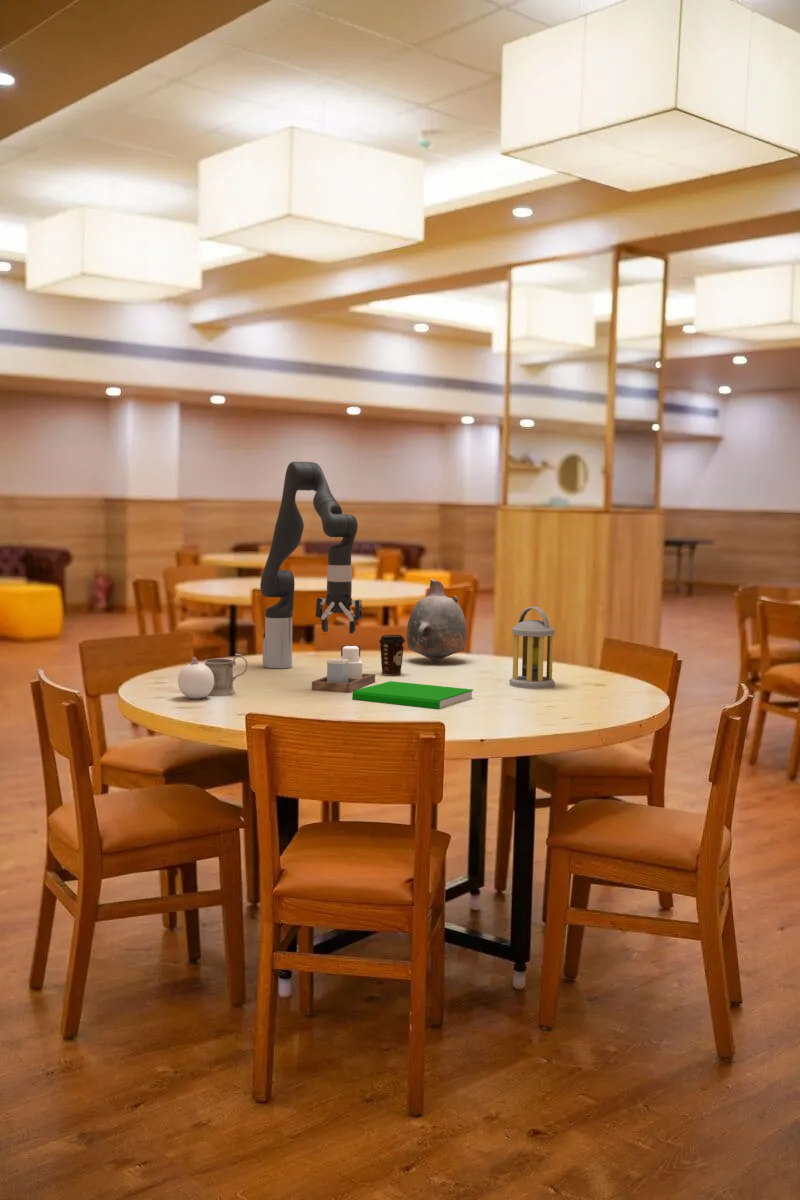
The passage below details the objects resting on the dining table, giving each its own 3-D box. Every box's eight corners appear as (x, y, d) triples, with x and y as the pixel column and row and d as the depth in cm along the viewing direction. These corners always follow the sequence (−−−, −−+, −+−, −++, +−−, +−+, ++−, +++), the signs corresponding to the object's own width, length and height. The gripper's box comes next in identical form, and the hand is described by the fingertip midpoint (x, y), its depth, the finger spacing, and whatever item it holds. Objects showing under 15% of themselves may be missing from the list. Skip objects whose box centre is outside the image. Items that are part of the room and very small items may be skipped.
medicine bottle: (338, 681, 380) (339, 644, 379) (361, 681, 381) (361, 644, 379) (339, 685, 373) (339, 647, 372) (362, 685, 373) (362, 647, 372)
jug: (467, 667, 416) (469, 581, 413) (406, 666, 416) (407, 580, 414) (464, 657, 440) (466, 576, 438) (406, 656, 441) (407, 575, 438)
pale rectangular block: (326, 689, 365) (326, 660, 364) (332, 686, 370) (332, 658, 369) (342, 690, 363) (343, 661, 362) (348, 687, 368) (349, 659, 368)
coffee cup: (405, 672, 400) (406, 634, 399) (403, 676, 392) (404, 637, 391) (380, 672, 401) (380, 633, 400) (377, 675, 393) (377, 636, 392)
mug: (195, 694, 352) (196, 653, 351) (213, 689, 361) (213, 649, 360) (238, 697, 347) (239, 657, 346) (255, 693, 356) (255, 653, 355)
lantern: (500, 684, 379) (502, 606, 376) (527, 680, 389) (529, 603, 387) (536, 690, 369) (538, 609, 367) (563, 685, 379) (565, 607, 377)
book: (390, 690, 367) (390, 681, 366) (473, 699, 353) (473, 689, 353) (352, 701, 347) (352, 691, 347) (438, 711, 334) (438, 700, 333)
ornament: (184, 702, 338) (184, 660, 337) (173, 696, 347) (173, 655, 346) (218, 700, 343) (218, 658, 342) (207, 694, 352) (207, 654, 351)
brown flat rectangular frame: (311, 689, 363) (311, 681, 363) (338, 679, 384) (338, 671, 384) (350, 692, 359) (350, 684, 359) (375, 681, 380) (375, 674, 380)
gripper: (312, 579, 362) (312, 632, 364) (357, 581, 358) (356, 635, 359) (322, 577, 369) (321, 630, 371) (365, 579, 365) (364, 632, 366)
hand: (338, 632), depth 365 cm, fingers open, 8 cm apart
